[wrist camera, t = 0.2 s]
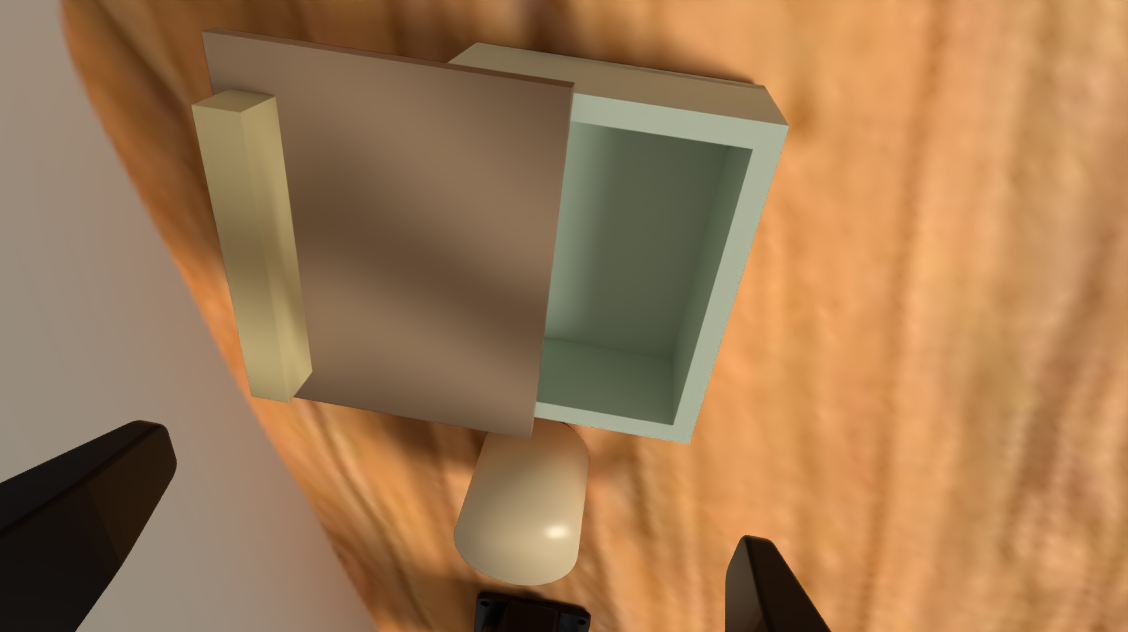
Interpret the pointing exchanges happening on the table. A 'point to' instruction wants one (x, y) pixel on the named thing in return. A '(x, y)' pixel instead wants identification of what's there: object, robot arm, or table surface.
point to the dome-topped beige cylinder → (525, 505)
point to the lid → (385, 225)
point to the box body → (646, 236)
